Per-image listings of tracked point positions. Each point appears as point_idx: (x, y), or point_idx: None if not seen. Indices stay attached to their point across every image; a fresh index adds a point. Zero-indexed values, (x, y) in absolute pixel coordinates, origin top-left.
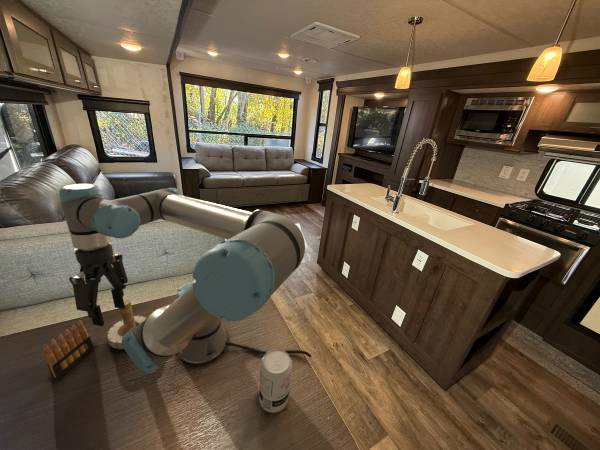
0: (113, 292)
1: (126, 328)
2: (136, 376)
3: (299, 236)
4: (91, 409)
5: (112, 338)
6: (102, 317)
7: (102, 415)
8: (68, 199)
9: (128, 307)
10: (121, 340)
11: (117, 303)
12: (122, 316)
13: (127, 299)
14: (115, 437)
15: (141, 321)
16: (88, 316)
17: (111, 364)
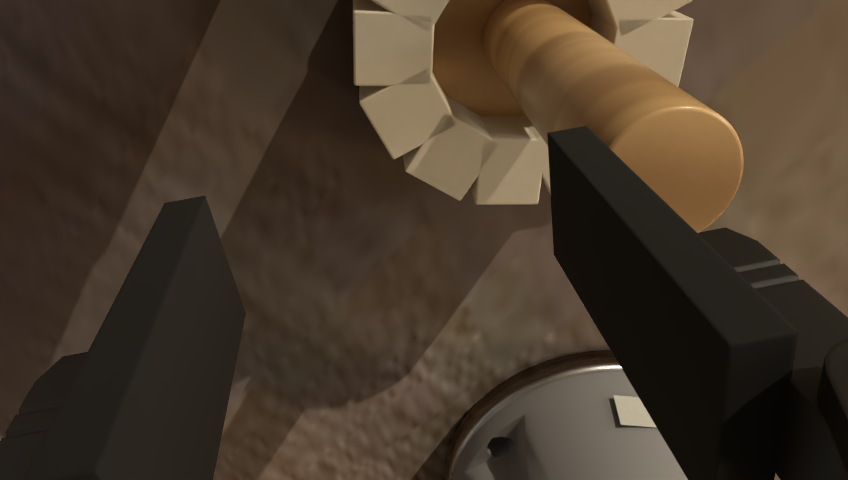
0: (684, 348)
1: (501, 69)
2: (279, 309)
3: None
4: (31, 264)
5: (381, 18)
6: (224, 398)
7: (52, 334)
8: None
9: None
10: (394, 113)
11: (579, 230)
12: (539, 106)
13: (738, 165)
14: None
15: None
16: (30, 396)
17: (265, 107)
